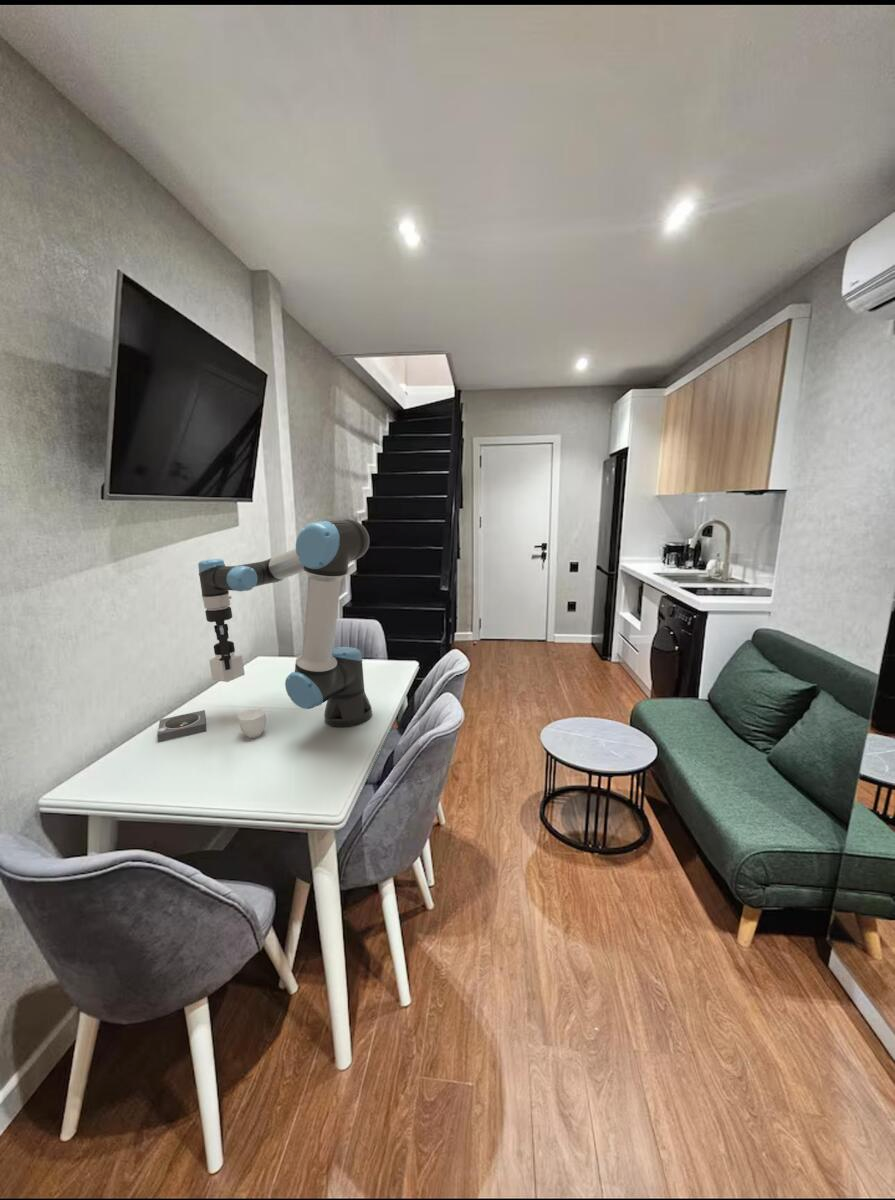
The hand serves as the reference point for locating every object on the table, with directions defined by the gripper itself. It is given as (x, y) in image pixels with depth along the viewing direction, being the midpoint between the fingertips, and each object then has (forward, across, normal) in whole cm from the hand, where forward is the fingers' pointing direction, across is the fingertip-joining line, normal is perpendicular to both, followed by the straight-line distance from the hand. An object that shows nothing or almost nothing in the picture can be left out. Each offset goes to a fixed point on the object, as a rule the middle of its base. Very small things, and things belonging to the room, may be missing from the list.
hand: (228, 673), depth 155 cm
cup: (+15, -17, -5) cm, 23 cm away
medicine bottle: (+1, 0, 0) cm, 1 cm away
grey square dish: (+15, -1, +15) cm, 21 cm away
